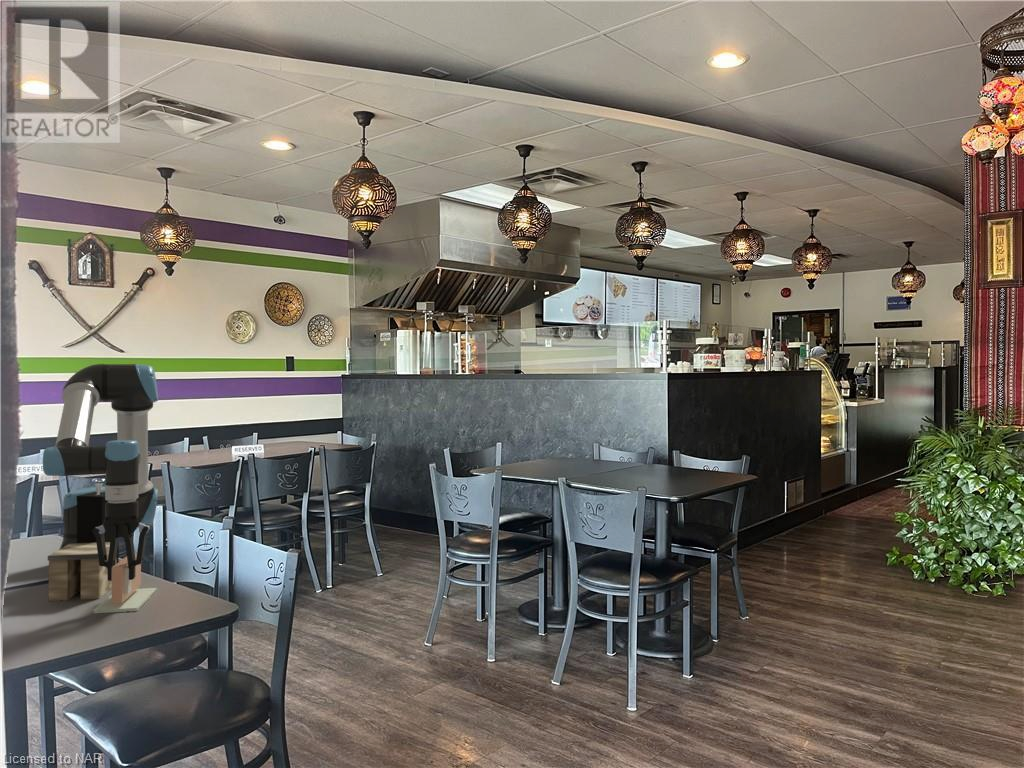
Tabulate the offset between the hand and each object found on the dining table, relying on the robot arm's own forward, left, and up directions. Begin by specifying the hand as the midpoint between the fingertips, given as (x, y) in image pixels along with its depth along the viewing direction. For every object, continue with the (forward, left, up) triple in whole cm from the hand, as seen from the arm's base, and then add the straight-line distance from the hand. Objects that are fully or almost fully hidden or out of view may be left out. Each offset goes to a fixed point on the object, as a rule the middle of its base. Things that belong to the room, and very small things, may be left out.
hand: (121, 592), depth 186 cm
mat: (-5, 0, -4) cm, 6 cm away
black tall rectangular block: (-30, -15, -4) cm, 33 cm away
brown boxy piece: (-16, -14, -4) cm, 21 cm away
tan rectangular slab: (-5, 0, -2) cm, 5 cm away
